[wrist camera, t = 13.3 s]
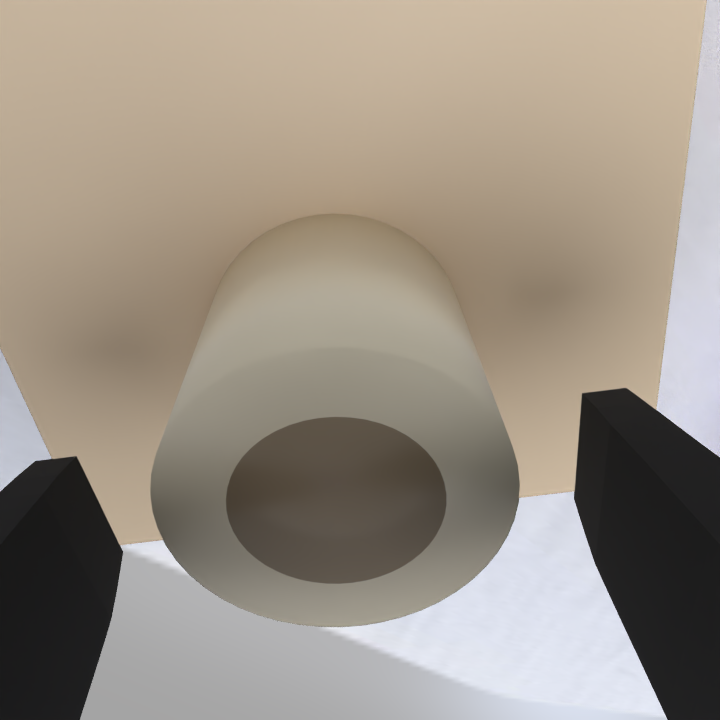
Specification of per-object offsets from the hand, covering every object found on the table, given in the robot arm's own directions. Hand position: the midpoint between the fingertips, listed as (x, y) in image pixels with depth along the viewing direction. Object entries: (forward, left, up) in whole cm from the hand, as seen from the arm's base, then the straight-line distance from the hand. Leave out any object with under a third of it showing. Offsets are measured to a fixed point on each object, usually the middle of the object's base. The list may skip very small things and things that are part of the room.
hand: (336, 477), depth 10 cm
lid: (0, +1, -5) cm, 5 cm away
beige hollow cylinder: (0, 0, -4) cm, 4 cm away
